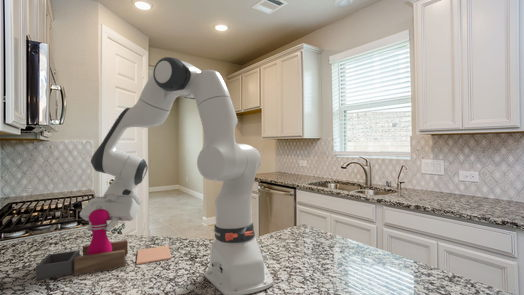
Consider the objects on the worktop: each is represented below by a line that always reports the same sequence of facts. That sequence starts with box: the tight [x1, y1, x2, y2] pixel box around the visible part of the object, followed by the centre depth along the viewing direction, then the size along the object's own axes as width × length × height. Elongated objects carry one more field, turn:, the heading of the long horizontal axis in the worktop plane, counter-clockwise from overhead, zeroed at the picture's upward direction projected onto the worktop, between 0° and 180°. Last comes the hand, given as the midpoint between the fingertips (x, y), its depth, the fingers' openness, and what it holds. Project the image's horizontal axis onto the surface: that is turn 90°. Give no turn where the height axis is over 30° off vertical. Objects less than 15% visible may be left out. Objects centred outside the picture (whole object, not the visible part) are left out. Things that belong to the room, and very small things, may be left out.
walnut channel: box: [74, 239, 129, 275], centre depth 95 cm, size 13×14×5 cm
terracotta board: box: [135, 245, 172, 266], centre depth 101 cm, size 14×11×1 cm
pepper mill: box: [87, 205, 112, 255], centre depth 94 cm, size 7×7×20 cm
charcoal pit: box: [35, 249, 81, 281], centre depth 90 cm, size 11×9×4 cm
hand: (98, 230), depth 94 cm, fingers closed on pepper mill, 5 cm apart
